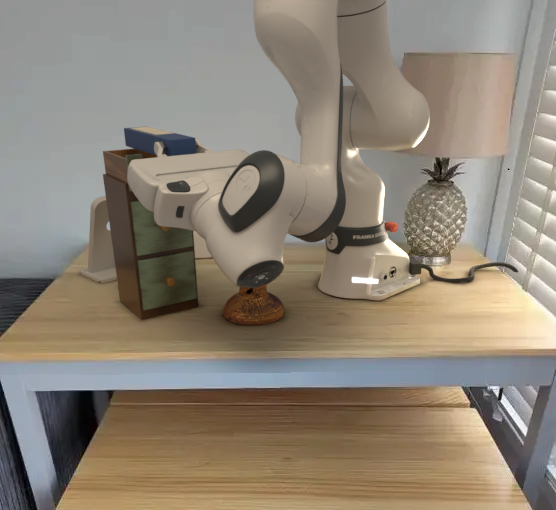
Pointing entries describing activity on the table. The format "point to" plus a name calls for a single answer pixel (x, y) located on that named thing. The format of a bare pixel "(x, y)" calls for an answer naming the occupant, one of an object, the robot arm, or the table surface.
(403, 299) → the table surface
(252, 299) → the bell
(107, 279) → the phone holder
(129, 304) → the drawer stand
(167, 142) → the case
